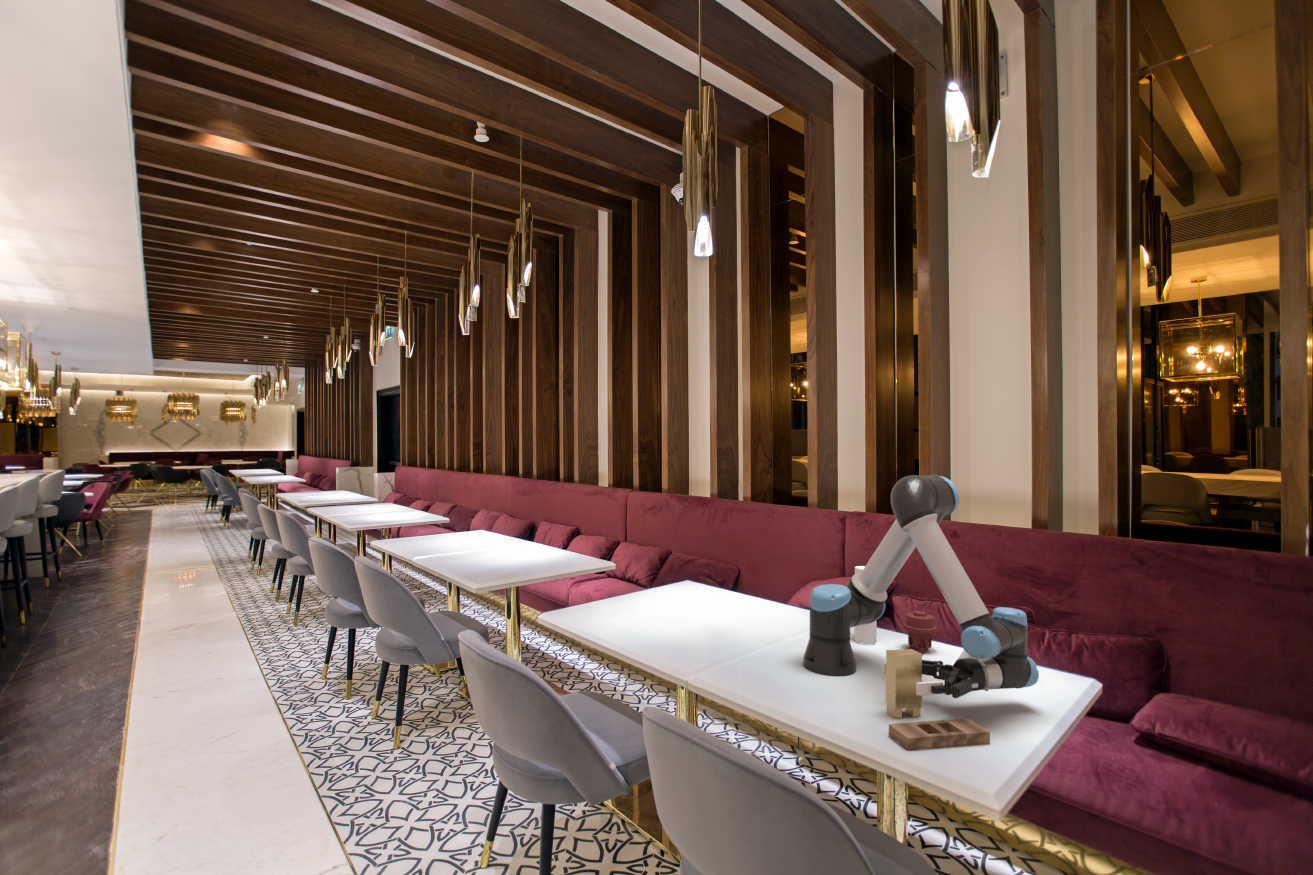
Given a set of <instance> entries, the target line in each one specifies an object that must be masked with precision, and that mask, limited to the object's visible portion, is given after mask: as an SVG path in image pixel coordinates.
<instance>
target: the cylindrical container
mask: <svg viewBox="0 0 1313 875" xmlns="http://www.w3.org/2000/svg"><path fill="white" fill-rule="evenodd" d="M865 566H866V565H856V566H854V575H855V574H861V572H862V571H863V569H864V568H865ZM877 627H878V626H877V620H876V621H874V622H872V623H870V624H864V625H859V626H855V627H853V629H854V630H853V631H854V633H853V635H854V636H853V641H854V640H855V641H856V642H855V641H854V642H855V643H857V642H858V643H857V644H859V643H863V644H862V645H864V644H874V645H876V644H877V633H878V632H877V630H878V629H877ZM875 643H876V644H875Z"/></svg>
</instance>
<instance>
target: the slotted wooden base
mask: <svg viewBox="0 0 1313 875" xmlns="http://www.w3.org/2000/svg"><path fill="white" fill-rule="evenodd" d="M889 735H890V736H891V737H893V738H894V739H895V740H896V741H895V740H894V739H893V738H892V739H893V740H894V741H895V742H897V741H898V742H899V743H900V744H901V745H900V744H899V743H898V742H897V743H898V744H899V745H900V746H901V747H903V748H904V747H905V748H906V749H905V748H904V749H905V750H907V751H914V750H915V751H916V750H918V751H919V750H927V749H939V748H940V749H941V748H951V747H953V748H954V746H955V747H965V746H979V745H980V746H981V745H990V744H991V732H990V730H987V729H986V728H984V727H982V726H981V725H979V723H976V722H975V721H973V720H971V719H970V718H953V719H942V720H927V721H915V722H914V721H913V722H912V721H911V722H900V723H888V736H889ZM890 736H889V737H890ZM891 737H890V738H891Z"/></svg>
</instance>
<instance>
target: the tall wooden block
mask: <svg viewBox="0 0 1313 875" xmlns="http://www.w3.org/2000/svg"><path fill="white" fill-rule="evenodd" d="M885 653H886V654H885V655H886V656H885V663H886V675H885V702H886V714H888V715H889V716H890V715H891V716H890V717H892V718H893V719H902V718H903V709H905V713H907V714H908V715H909V716H911V717H913V718H919V717H922V716H921V713H922V709H921V708H922V707H923V706H922V705H923V695H920V696H918V695H916V683H917V682H923V674H922V660H923V654H922V653H919V652H918V651H915V650H913V649H910V648H908V649H907V648H906V649H904V648H903V649H886V651H885Z"/></svg>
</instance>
